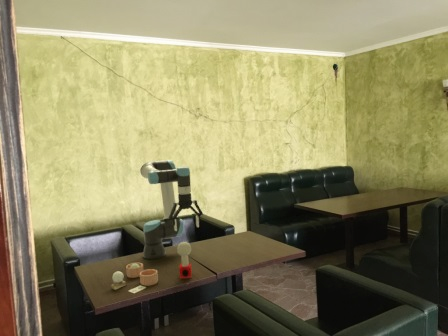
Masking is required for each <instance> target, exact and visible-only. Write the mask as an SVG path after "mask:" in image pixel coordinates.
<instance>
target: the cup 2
mask: <svg viewBox="0 0 448 336" xmlns="http://www.w3.org/2000/svg"><path fill="white" fill-rule="evenodd" d="M143 270H144V271H142V272H140V277H139V281H140V285H141V286H144V287H148V286H153V285H156V284H157V283H158V282H159V275H158V269H153V268H152V269H143Z"/></svg>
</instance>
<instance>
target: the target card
mask: <svg viewBox="0 0 448 336" xmlns="http://www.w3.org/2000/svg"><path fill="white" fill-rule="evenodd" d="M146 288H147V286H144V285H141V284H140V285H138V286H136V287H134V288H131V289H129V290H128V293H131V294H136V293H139V292H141V291H143V290H145V289H146Z"/></svg>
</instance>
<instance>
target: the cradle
mask: <svg viewBox="0 0 448 336" xmlns="http://www.w3.org/2000/svg"><path fill="white" fill-rule="evenodd" d="M126 285H127V282H126V281H125V280H122V281H121V282H120V283H116V282H114V281H113V284H111V289H112V290H118V289H121V288H122V287H125V286H126Z"/></svg>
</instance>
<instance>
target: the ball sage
mask: <svg viewBox="0 0 448 336" xmlns="http://www.w3.org/2000/svg"><path fill="white" fill-rule="evenodd" d="M137 267H140V266H139V265H138V264H132V265H131V266H130V268H137Z"/></svg>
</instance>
